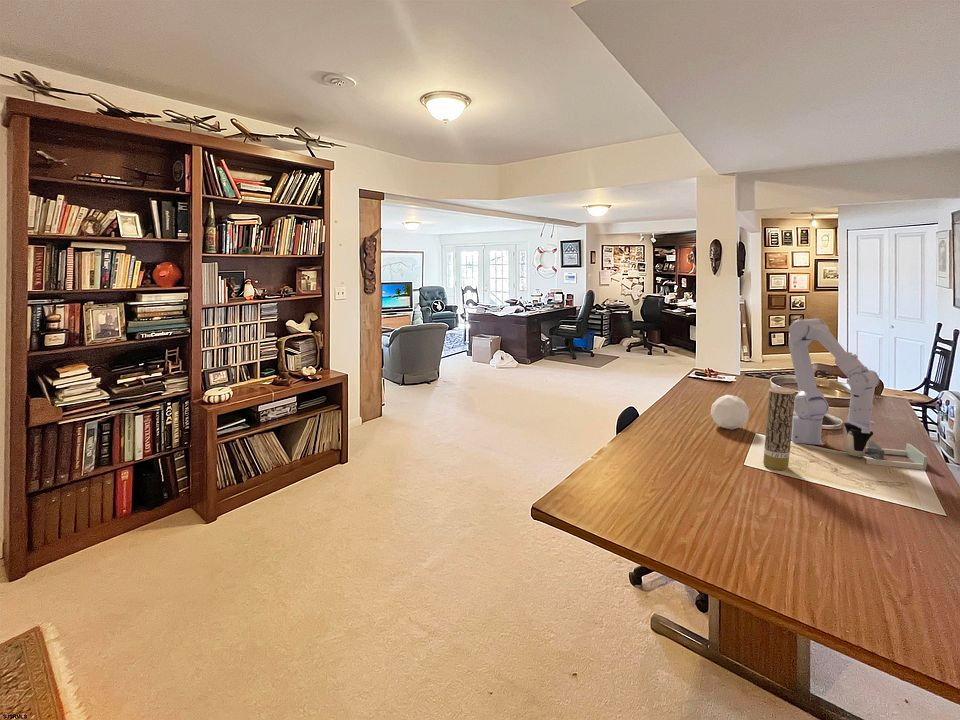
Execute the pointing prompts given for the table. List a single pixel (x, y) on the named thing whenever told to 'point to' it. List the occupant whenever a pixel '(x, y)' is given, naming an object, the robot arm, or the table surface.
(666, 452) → the table surface
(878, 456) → the pusher plate
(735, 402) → the geodesic sphere
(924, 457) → the lane
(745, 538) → the table surface
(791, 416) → the paper tube
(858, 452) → the jar
